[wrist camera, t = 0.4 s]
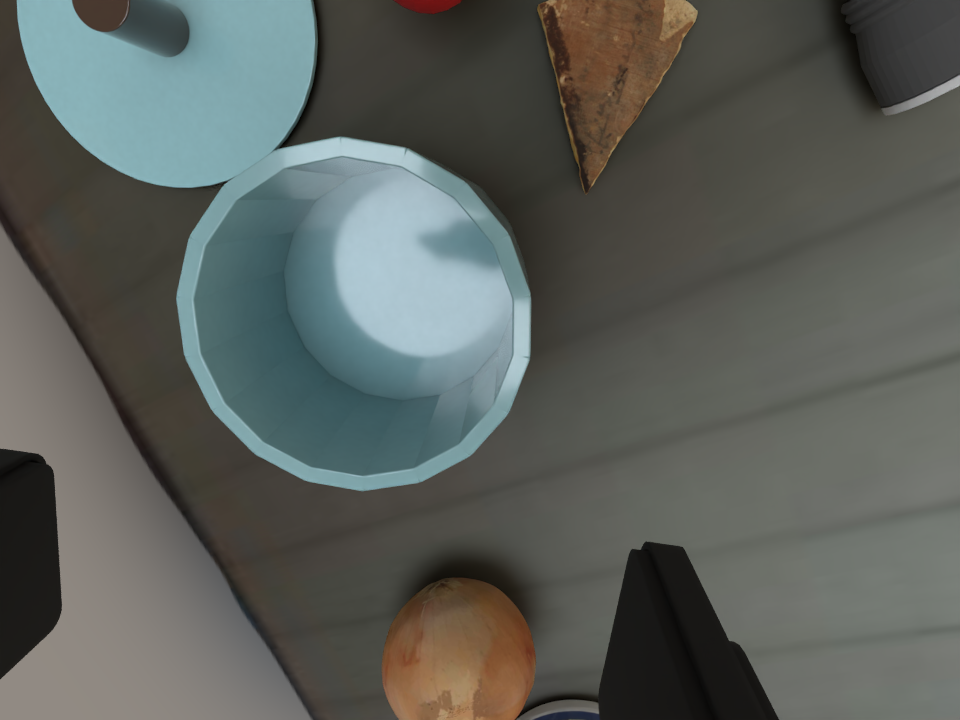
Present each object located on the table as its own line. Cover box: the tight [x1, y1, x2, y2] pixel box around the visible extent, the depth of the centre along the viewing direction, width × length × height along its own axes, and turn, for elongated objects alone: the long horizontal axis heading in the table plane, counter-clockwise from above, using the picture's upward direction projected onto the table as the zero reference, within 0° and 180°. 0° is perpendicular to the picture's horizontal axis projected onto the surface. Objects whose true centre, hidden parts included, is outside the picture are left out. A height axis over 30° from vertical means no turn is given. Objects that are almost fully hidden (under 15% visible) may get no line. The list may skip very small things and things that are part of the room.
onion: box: [382, 578, 536, 720], centre depth 39 cm, size 10×10×10 cm
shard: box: [537, 0, 698, 194], centre depth 33 cm, size 11×8×2 cm
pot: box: [176, 136, 531, 491], centre depth 32 cm, size 16×16×12 cm
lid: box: [17, 0, 318, 188], centre depth 31 cm, size 17×17×7 cm
